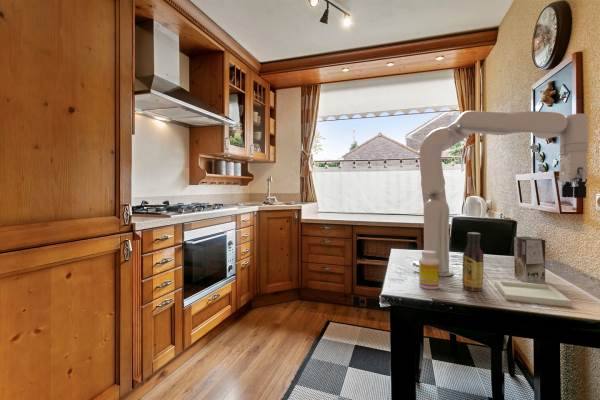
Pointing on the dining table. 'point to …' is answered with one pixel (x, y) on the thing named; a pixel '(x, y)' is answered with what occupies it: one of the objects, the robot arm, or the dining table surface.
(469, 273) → the sauce bottle
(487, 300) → the dining table surface
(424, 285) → the supplement bottle
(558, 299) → the tray
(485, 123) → the robot arm
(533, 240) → the coffee box
